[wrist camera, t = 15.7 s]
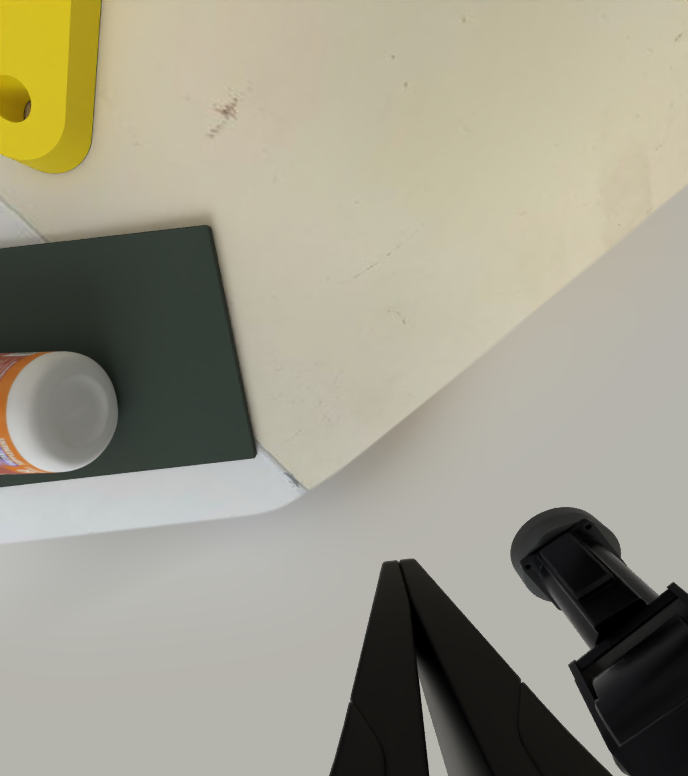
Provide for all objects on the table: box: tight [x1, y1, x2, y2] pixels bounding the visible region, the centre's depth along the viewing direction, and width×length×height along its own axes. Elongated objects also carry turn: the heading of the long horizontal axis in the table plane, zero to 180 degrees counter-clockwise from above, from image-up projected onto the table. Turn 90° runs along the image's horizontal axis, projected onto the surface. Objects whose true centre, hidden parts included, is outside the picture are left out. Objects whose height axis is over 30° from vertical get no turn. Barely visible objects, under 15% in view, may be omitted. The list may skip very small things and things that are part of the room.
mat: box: [0, 225, 257, 487], centre depth 19 cm, size 26×14×1 cm, turn 96°
